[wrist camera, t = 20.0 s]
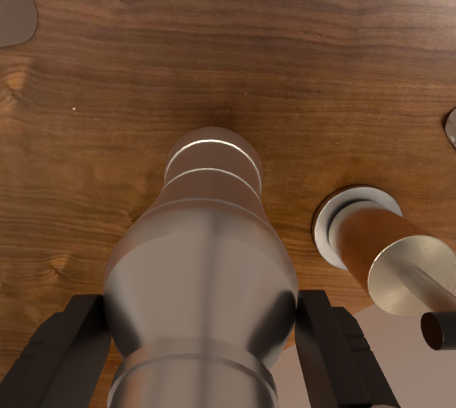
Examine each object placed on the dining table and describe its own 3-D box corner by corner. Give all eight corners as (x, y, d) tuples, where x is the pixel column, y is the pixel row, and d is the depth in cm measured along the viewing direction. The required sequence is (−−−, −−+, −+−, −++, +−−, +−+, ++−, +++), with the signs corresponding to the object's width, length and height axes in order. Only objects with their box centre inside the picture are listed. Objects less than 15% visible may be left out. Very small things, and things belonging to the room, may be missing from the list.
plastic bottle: (227, 217, 26) (238, 585, 8) (154, 173, 25) (-42, 511, 6) (276, 153, 24) (443, 458, 6) (199, 100, 22) (97, 296, 4)
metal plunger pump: (313, 186, 39) (410, 266, 19) (403, 183, 39) (596, 259, 19) (310, 268, 42) (390, 412, 22) (393, 264, 42) (551, 406, 22)
